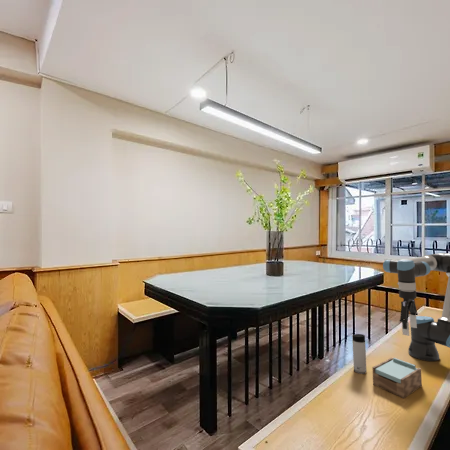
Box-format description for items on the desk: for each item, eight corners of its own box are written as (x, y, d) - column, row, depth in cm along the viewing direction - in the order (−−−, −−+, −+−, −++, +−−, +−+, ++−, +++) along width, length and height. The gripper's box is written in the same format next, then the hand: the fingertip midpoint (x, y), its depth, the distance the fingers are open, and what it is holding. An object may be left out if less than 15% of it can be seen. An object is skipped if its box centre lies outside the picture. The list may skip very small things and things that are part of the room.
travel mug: (360, 375, 145) (358, 337, 145) (351, 369, 151) (349, 333, 152) (369, 373, 146) (368, 335, 147) (360, 367, 153) (359, 331, 153)
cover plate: (393, 363, 144) (392, 356, 144) (418, 372, 134) (417, 365, 134) (375, 373, 135) (375, 365, 135) (400, 383, 125) (400, 376, 125)
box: (391, 373, 145) (391, 357, 145) (421, 385, 133) (420, 368, 134) (373, 384, 136) (372, 367, 136) (403, 398, 124) (402, 379, 124)
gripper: (406, 284, 152) (408, 322, 151) (391, 293, 135) (393, 336, 135) (422, 286, 146) (424, 326, 146) (408, 295, 130) (411, 340, 129)
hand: (409, 331), depth 140 cm, fingers open, 13 cm apart
